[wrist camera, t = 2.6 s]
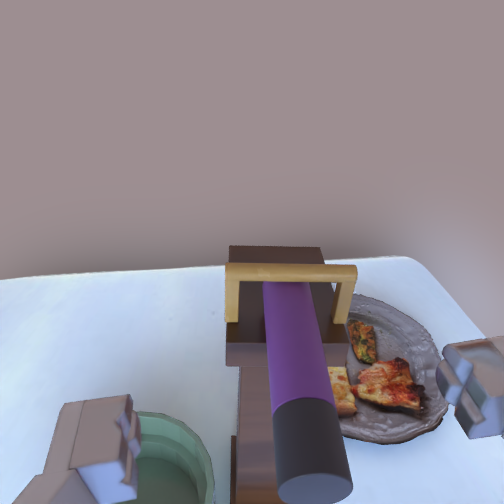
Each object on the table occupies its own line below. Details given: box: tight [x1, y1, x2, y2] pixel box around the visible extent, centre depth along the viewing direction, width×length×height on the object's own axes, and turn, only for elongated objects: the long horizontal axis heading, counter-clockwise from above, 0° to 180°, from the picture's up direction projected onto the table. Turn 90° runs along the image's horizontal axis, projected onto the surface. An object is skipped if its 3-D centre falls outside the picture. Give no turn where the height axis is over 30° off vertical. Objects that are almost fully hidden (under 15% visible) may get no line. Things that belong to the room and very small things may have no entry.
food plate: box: [327, 292, 450, 445], centre depth 53 cm, size 25×23×4 cm
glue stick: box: [262, 281, 353, 504], centre depth 19 cm, size 12×3×3 cm, turn 2°
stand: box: [225, 246, 358, 504], centre depth 32 cm, size 10×7×30 cm
